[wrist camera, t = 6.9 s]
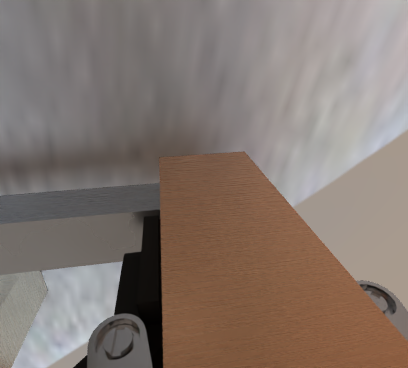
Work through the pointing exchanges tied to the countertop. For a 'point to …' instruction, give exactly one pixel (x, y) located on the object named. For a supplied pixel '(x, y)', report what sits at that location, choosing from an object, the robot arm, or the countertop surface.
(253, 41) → the countertop surface
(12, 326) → the l-shaped tool
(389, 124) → the countertop surface
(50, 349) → the countertop surface
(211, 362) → the crook tool
